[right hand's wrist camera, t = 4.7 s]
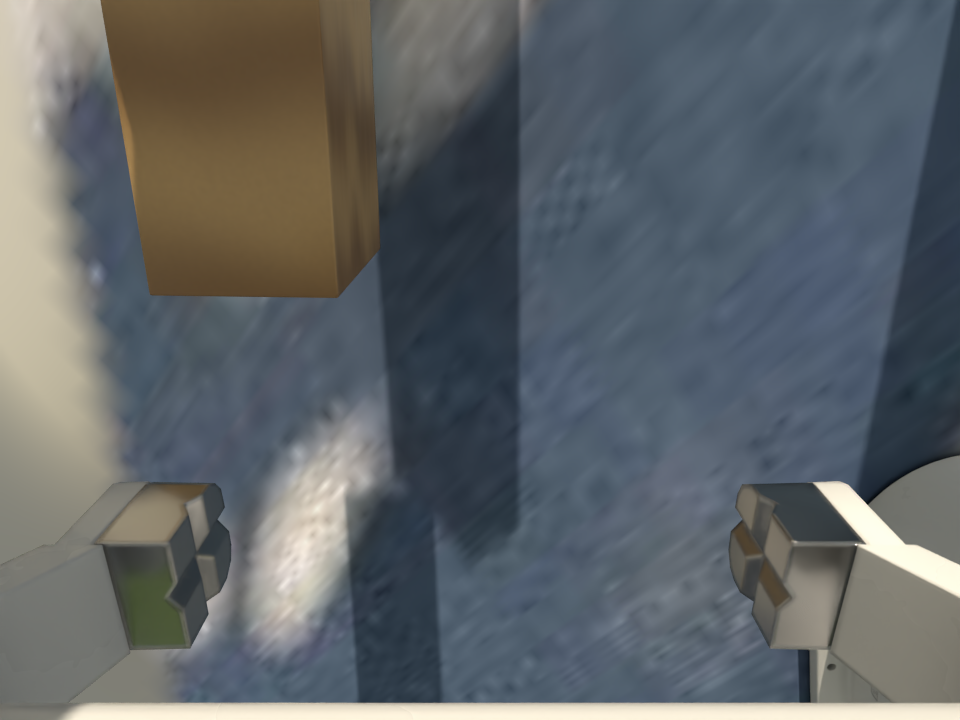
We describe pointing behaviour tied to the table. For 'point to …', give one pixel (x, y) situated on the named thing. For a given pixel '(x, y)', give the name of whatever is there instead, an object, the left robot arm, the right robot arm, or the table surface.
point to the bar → (248, 142)
